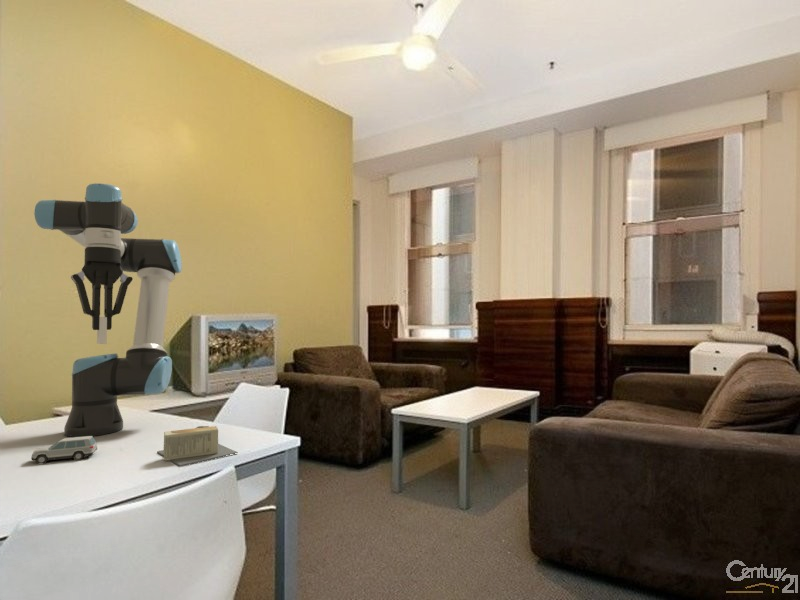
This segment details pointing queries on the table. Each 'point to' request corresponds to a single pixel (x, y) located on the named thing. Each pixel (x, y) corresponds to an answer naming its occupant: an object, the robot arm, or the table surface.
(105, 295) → the robot arm
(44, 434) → the table surface
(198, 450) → the skincare box
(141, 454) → the table surface
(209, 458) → the mat
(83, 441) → the toy car
